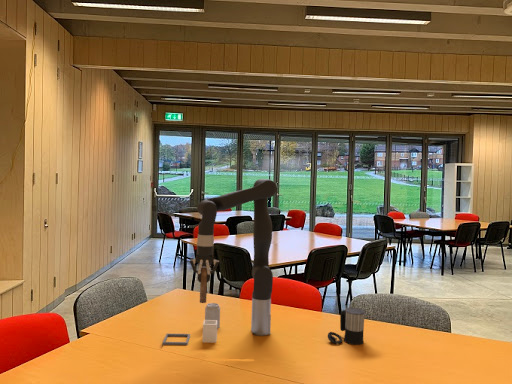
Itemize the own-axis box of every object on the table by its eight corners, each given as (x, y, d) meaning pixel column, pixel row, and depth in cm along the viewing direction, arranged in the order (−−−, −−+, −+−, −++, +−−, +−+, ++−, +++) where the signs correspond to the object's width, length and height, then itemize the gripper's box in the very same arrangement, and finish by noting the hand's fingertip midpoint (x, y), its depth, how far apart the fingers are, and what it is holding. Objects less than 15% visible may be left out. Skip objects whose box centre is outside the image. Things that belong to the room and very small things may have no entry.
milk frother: (367, 341, 209) (368, 310, 208) (349, 350, 197) (351, 317, 197) (342, 333, 218) (343, 304, 218) (323, 341, 207) (324, 310, 206)
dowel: (206, 301, 203) (207, 266, 202) (205, 303, 200) (207, 268, 199) (199, 301, 203) (201, 266, 202) (199, 302, 200) (200, 267, 199)
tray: (190, 337, 207) (190, 333, 207) (187, 346, 196) (187, 342, 196) (166, 337, 206) (166, 333, 206) (162, 346, 195) (162, 342, 195)
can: (212, 331, 215) (213, 307, 215) (201, 328, 220) (202, 304, 219) (222, 328, 221) (223, 304, 221) (211, 324, 226) (212, 301, 225)
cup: (216, 339, 206) (217, 320, 205) (216, 344, 200) (216, 324, 199) (203, 339, 206) (204, 319, 205) (202, 344, 199) (202, 324, 199)
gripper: (221, 243, 205) (219, 280, 205) (190, 242, 204) (189, 279, 205) (220, 246, 197) (218, 284, 198) (188, 245, 197) (187, 283, 197)
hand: (203, 281), depth 201 cm, fingers closed on dowel, 3 cm apart
